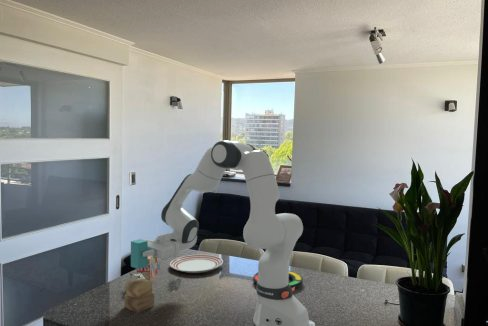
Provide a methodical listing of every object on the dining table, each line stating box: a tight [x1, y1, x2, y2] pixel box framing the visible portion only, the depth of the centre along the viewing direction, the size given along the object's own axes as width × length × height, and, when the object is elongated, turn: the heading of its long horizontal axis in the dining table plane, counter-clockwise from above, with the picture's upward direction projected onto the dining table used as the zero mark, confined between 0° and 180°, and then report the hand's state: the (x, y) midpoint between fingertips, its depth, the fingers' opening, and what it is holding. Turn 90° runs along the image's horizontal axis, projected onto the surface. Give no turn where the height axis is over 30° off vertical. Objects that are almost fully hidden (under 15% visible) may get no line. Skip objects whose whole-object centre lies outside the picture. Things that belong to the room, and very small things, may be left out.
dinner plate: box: [169, 253, 224, 274], centre depth 195 cm, size 27×27×3 cm
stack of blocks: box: [135, 256, 161, 282], centre depth 181 cm, size 21×6×12 cm, turn 1°
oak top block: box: [125, 278, 153, 300], centre depth 147 cm, size 7×7×5 cm
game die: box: [128, 272, 145, 282], centre depth 163 cm, size 9×8×10 cm
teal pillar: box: [130, 238, 148, 270], centre depth 147 cm, size 4×4×10 cm
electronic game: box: [252, 270, 304, 289], centre depth 174 cm, size 23×23×5 cm
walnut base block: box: [123, 292, 155, 314], centre depth 148 cm, size 8×8×5 cm
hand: (137, 252), depth 146 cm, fingers closed on teal pillar, 4 cm apart
